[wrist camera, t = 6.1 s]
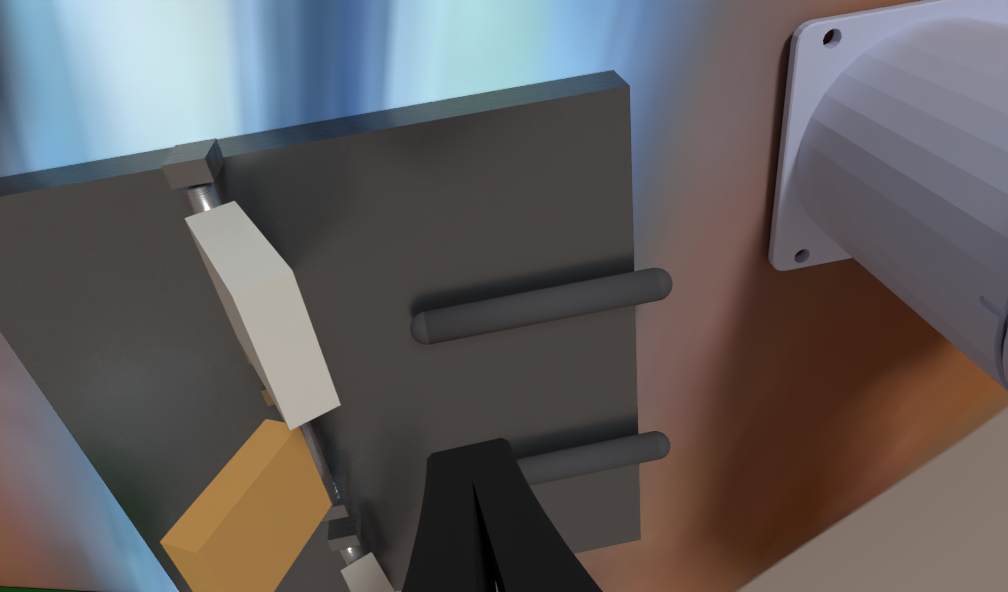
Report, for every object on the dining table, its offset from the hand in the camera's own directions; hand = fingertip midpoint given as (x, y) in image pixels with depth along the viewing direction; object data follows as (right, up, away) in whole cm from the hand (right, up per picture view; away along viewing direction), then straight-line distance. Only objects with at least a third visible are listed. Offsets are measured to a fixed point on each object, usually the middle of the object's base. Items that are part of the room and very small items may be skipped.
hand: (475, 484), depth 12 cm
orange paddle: (-6, -2, +10) cm, 11 cm away
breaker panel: (-4, 0, +12) cm, 12 cm away
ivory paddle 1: (-7, +4, +6) cm, 10 cm away
